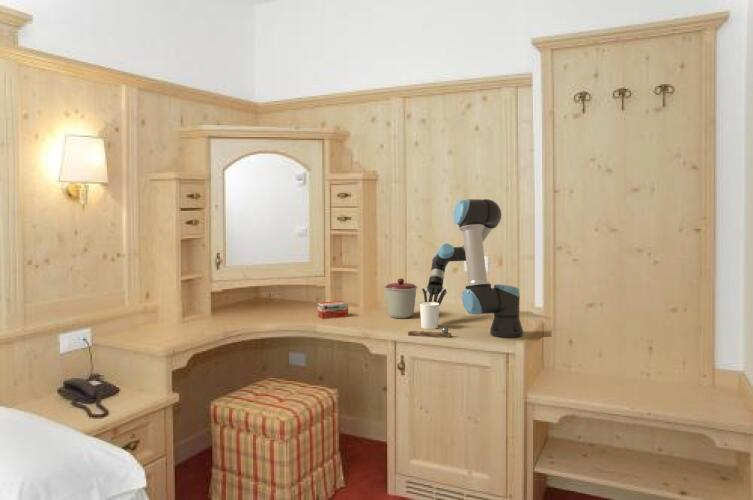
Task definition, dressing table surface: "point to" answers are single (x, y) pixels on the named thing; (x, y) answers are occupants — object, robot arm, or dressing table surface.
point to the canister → (400, 299)
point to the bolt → (445, 330)
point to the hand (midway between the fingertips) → (430, 316)
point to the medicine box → (332, 309)
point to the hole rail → (428, 334)
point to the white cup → (429, 315)
